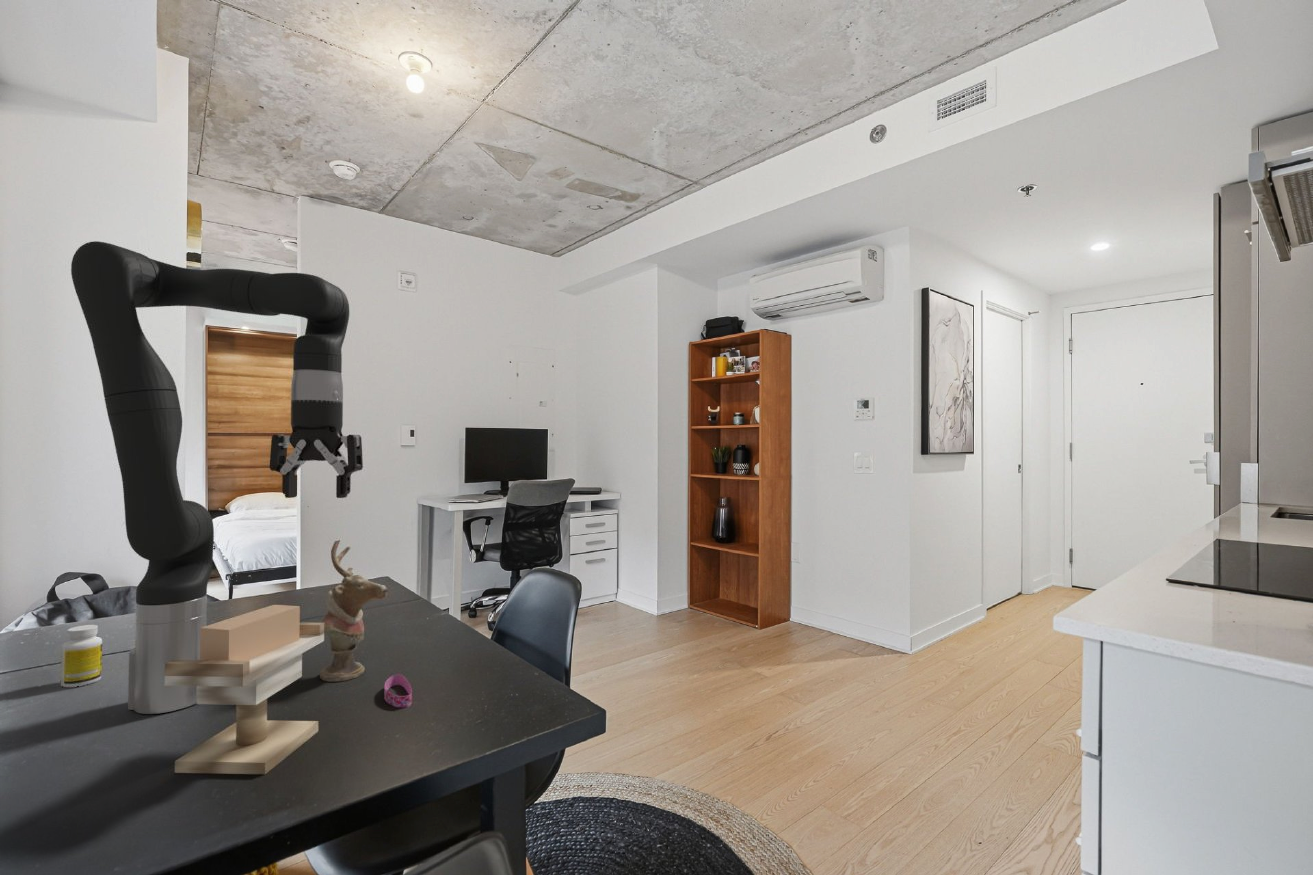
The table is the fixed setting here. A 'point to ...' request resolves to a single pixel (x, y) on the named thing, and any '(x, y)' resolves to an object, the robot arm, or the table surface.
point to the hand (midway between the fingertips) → (316, 497)
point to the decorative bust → (347, 619)
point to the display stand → (246, 707)
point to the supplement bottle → (81, 657)
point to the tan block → (250, 634)
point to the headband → (394, 699)
